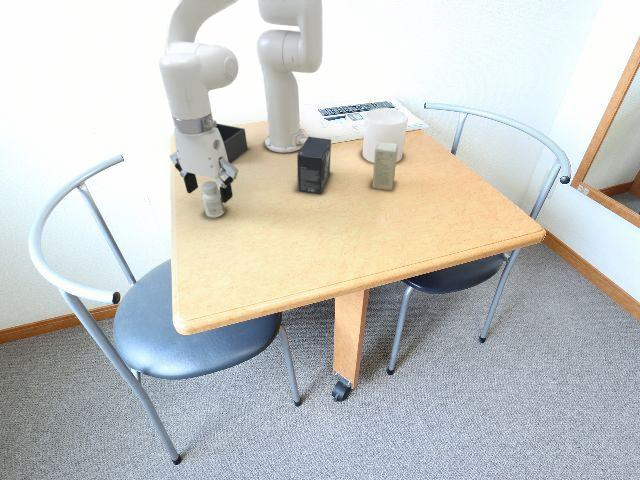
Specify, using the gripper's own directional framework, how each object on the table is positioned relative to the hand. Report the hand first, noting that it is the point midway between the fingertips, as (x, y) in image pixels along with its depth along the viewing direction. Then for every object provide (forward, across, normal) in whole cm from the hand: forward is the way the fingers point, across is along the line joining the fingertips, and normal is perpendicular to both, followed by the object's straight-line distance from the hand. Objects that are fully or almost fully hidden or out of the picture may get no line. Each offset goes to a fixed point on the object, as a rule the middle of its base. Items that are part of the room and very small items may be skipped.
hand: (210, 195), depth 84 cm
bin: (+5, +17, -27) cm, 32 cm away
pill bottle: (+6, 0, -1) cm, 6 cm away
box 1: (+5, -16, -23) cm, 28 cm away
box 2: (+5, -33, -29) cm, 44 cm away
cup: (+5, -28, -45) cm, 53 cm away
